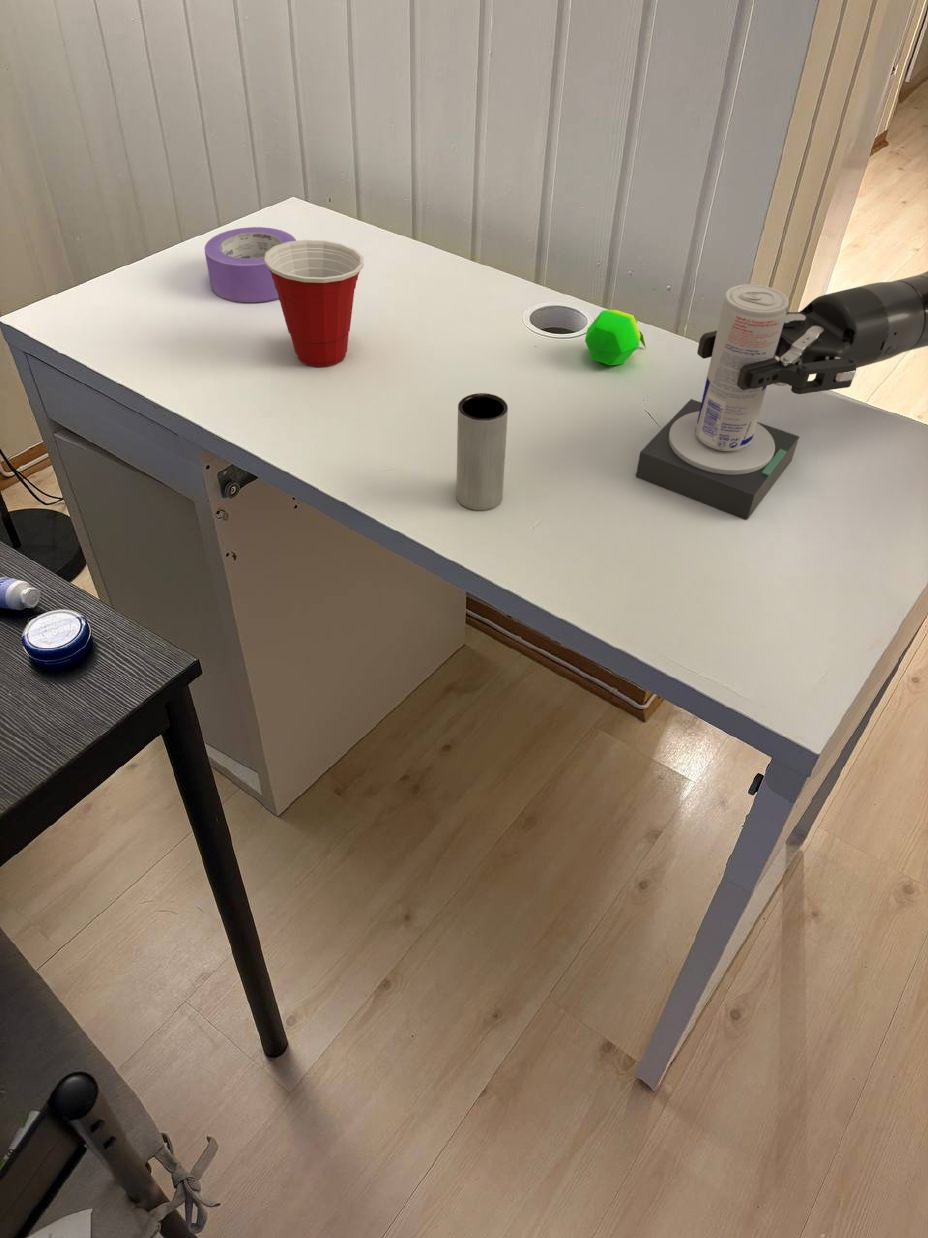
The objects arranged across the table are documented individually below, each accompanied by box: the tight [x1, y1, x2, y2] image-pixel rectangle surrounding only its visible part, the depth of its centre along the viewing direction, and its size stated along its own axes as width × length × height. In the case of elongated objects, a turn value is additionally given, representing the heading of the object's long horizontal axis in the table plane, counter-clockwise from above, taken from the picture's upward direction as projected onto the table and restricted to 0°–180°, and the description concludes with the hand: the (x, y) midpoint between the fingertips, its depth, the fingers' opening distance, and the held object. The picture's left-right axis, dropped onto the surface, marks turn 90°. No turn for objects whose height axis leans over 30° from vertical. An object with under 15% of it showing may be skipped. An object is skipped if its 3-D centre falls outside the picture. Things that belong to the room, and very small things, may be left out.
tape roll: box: [204, 226, 297, 303], centre depth 123 cm, size 12×12×5 cm
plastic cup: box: [264, 239, 365, 368], centre depth 108 cm, size 11×11×12 cm
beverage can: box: [695, 283, 790, 451], centre depth 90 cm, size 6×6×15 cm
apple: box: [584, 309, 647, 366], centre depth 111 cm, size 7×6×9 cm
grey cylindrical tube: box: [455, 392, 509, 511], centre depth 90 cm, size 4×4×10 cm
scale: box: [635, 398, 800, 521], centre depth 96 cm, size 12×12×4 cm
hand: (721, 362), depth 88 cm, fingers closed on beverage can, 5 cm apart
